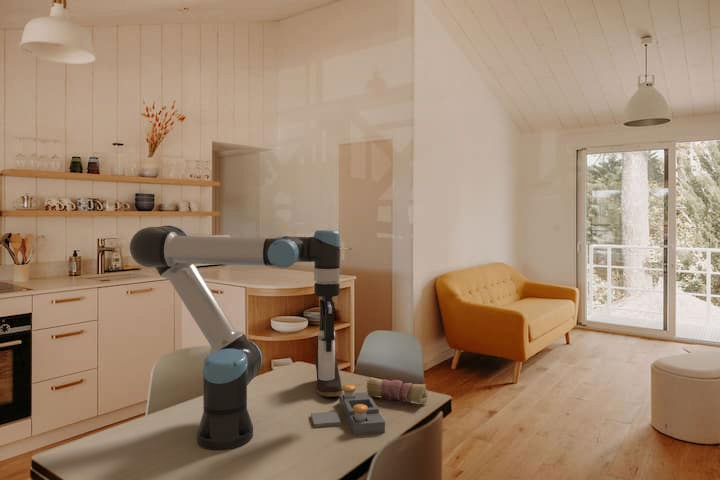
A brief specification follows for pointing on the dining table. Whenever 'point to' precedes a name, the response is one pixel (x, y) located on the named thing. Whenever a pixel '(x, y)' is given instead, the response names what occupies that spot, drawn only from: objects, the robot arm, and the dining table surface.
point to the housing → (373, 416)
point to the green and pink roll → (397, 390)
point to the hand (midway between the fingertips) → (326, 358)
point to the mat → (325, 419)
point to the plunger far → (349, 391)
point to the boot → (329, 383)
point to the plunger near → (360, 412)
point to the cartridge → (328, 368)
